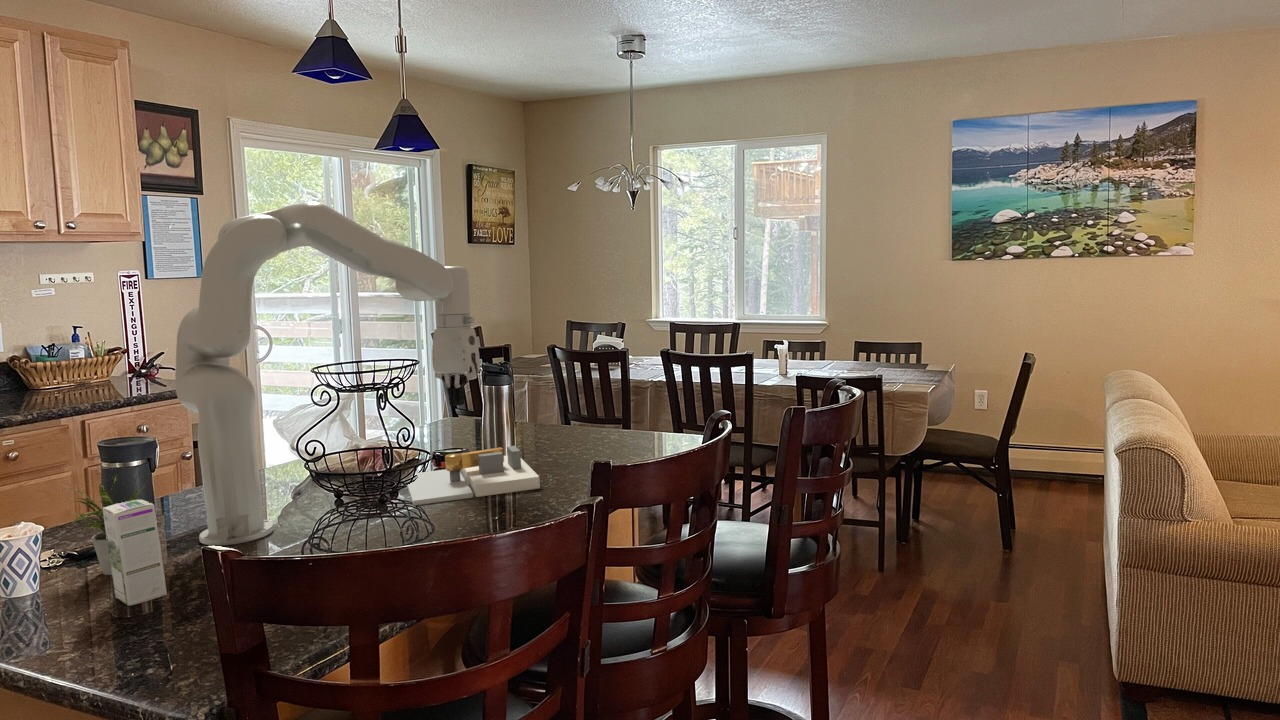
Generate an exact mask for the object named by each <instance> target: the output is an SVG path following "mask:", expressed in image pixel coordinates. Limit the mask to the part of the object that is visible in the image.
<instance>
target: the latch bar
mask: <svg viewBox="0 0 1280 720" xmlns="http://www.w3.org/2000/svg"><path fill="white" fill-rule="evenodd" d="M497 452H501V453H502V454H503V462H504V456H505V454H504V448H502V447H501V446H500V447H495V448H488V449H482V450H480V449H479V450H475V451H469V452H467V451H466V452H462V453H449V454H446V455H444V462H445V463H444V464H445V469H446V470H447V471H458V470H461V469H464V468H470V467H476V466H479V463H478V455H480V454H488V453H497Z"/></svg>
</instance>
